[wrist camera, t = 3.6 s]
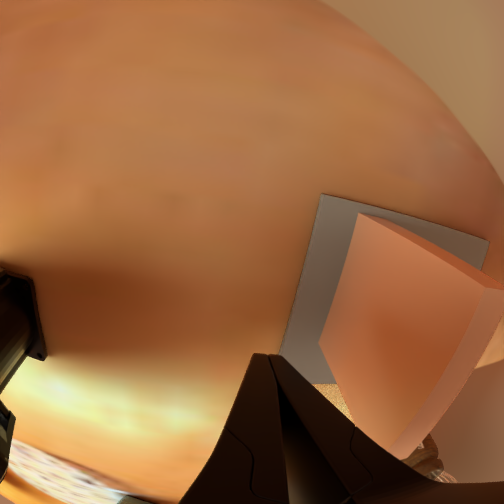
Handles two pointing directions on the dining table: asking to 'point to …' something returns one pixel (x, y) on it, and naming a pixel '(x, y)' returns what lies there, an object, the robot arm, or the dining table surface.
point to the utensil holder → (426, 459)
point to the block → (405, 331)
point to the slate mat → (330, 268)
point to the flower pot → (131, 501)
